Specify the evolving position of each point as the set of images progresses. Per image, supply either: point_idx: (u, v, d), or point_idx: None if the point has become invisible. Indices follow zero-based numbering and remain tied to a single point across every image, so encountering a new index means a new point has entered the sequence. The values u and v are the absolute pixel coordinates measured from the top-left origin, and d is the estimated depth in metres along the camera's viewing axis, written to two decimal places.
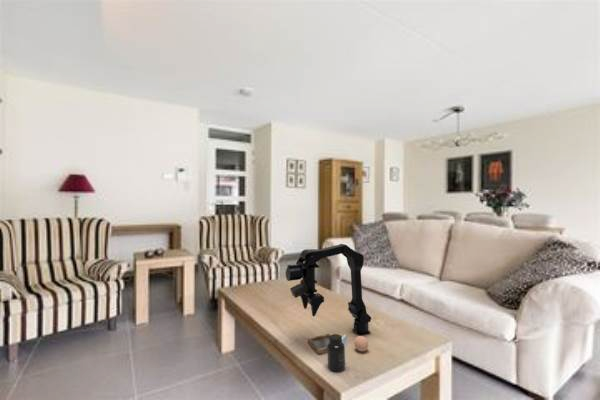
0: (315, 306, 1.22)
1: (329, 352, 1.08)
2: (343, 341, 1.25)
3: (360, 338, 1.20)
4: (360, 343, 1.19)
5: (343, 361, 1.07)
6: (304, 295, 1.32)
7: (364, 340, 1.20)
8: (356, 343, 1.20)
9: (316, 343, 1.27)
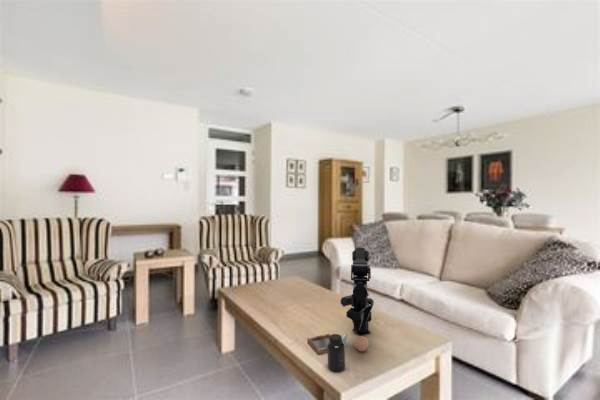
0: (357, 322, 1.16)
1: (329, 352, 1.08)
2: (343, 341, 1.25)
3: (360, 338, 1.20)
4: (360, 343, 1.19)
5: (343, 361, 1.07)
6: (364, 309, 1.26)
7: (364, 340, 1.20)
8: (356, 343, 1.20)
9: (316, 343, 1.27)
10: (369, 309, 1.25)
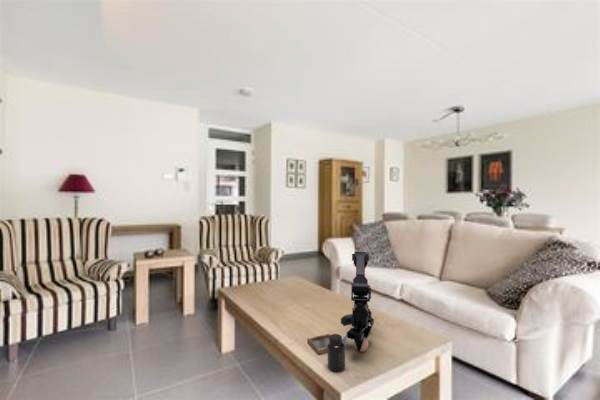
0: (358, 341, 1.17)
1: (329, 352, 1.08)
2: (343, 341, 1.25)
3: None
4: None
5: (343, 361, 1.07)
6: (363, 329, 1.25)
7: (364, 340, 1.20)
8: None
9: (316, 343, 1.27)
10: (368, 329, 1.23)
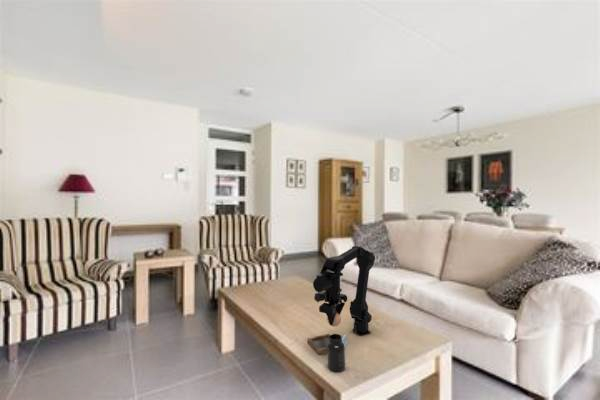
0: (330, 315, 1.20)
1: (329, 352, 1.08)
2: (343, 341, 1.25)
3: None
4: None
5: (343, 361, 1.07)
6: (336, 305, 1.27)
7: (337, 315, 1.22)
8: None
9: (316, 343, 1.27)
10: (341, 306, 1.26)
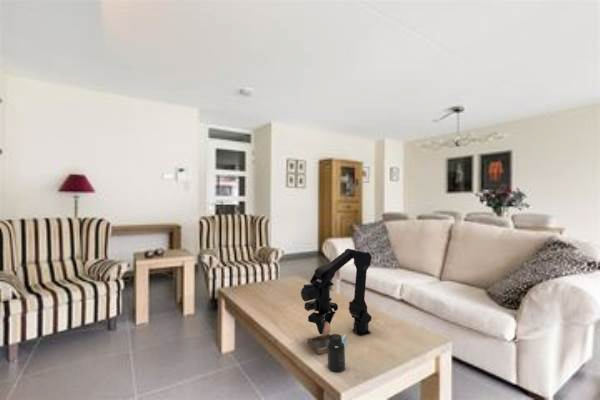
0: (320, 324, 1.22)
1: (329, 352, 1.08)
2: (343, 341, 1.25)
3: None
4: None
5: (343, 361, 1.07)
6: (326, 314, 1.29)
7: (326, 325, 1.24)
8: None
9: (316, 343, 1.27)
10: (331, 314, 1.27)
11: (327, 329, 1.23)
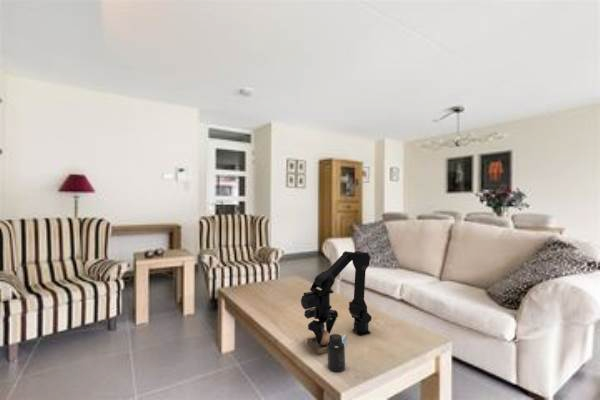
0: (318, 334, 1.20)
1: (329, 352, 1.08)
2: (343, 341, 1.25)
3: None
4: (322, 337, 1.23)
5: (343, 361, 1.07)
6: (328, 321, 1.30)
7: (326, 335, 1.24)
8: None
9: (316, 343, 1.27)
10: (333, 321, 1.29)
11: (327, 339, 1.23)
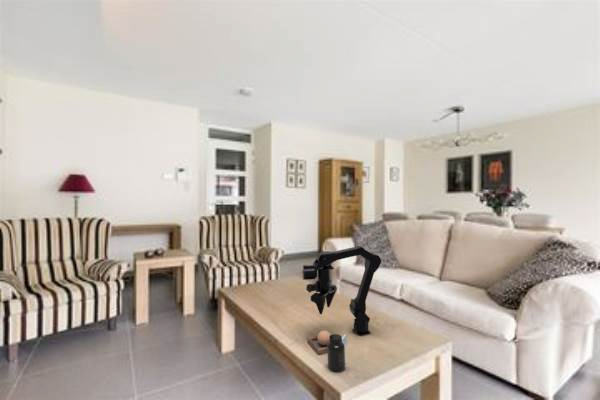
0: (320, 305, 1.30)
1: (329, 352, 1.08)
2: (343, 341, 1.25)
3: (323, 332, 1.25)
4: (322, 337, 1.23)
5: (343, 361, 1.07)
6: (328, 294, 1.40)
7: (327, 335, 1.24)
8: (319, 337, 1.24)
9: (316, 343, 1.27)
10: (332, 294, 1.39)
11: (327, 339, 1.23)
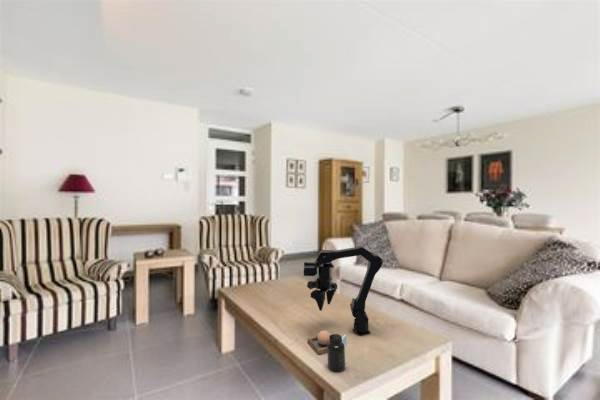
0: (320, 302, 1.34)
1: (329, 352, 1.08)
2: (343, 341, 1.25)
3: (323, 332, 1.25)
4: (322, 337, 1.23)
5: (343, 361, 1.07)
6: (328, 292, 1.44)
7: (327, 335, 1.24)
8: (319, 337, 1.24)
9: (316, 343, 1.27)
10: (333, 292, 1.42)
11: (327, 339, 1.23)
